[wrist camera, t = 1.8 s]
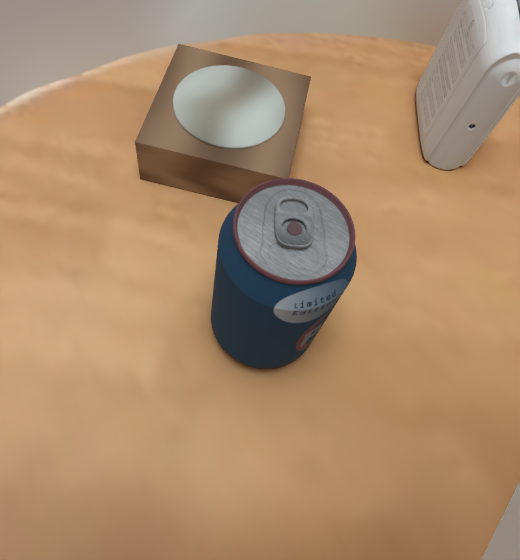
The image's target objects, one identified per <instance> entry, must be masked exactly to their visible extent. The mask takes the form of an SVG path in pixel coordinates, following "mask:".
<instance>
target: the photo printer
mask: <svg viewBox="0 0 520 560" xmlns="http://www.w3.org/2000/svg"><path fill="white" fill-rule="evenodd" d="M519 95H520V0H461V2H460V5H459V6H458V8H457V10H456V12H455V14H454V16H453V18H452V20H451V22H450V24H449V25H448V28H447V29H446V31H445V33H444V35H443V37H442V39H441V41H440V43H439V45H438V47H437V49H436V50H435V52H434V54H433V56H432V58H431V60H430V62H429V64H428V66H427V68H426V69H425V71H424V73H423V75H422V77H421V79H420V81H419V83H418V86H417V91H416V105H417V116H418V125H419V133H420V141H421V147H422V152H423V156H424V158H425V160H426V161H429V164H431V165H432V166H434V167H436V168H439V169H443V170H452V169H456V168H458V167H459V166H464V165H465V164H466V163H467V162H468V161H469V160H470V158H471V157H472V156H473V155H474V153H475V152H476V151H477V150H478V148H479V147H480V146H481V145H482V143H483V142H484V141H485V139H486V138H487V137H488V135H489V134H490V133H491V132H492V130H493V129H494V128H495V126H496V125H497V124H498V123H499V121H500V120H501V119H502V117H503V116H504V115H505V113H506V112H507V111H508V110H509V108H510V107H511V106H512V105H513V103H514V102H515V101H516V99H517V98H518V97H519Z"/></svg>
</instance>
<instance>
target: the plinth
mask: <svg viewBox="0 0 520 560" xmlns="http://www.w3.org/2000/svg"><path fill="white" fill-rule="evenodd" d="M310 79H311V77H310V76H306V75H302V74H298V73H294V72H290V71H286V70H282V69H278V68H274V67H270V66H266V65H262V64H258V63H254V62H250V61H246V60H242V59H238V58H234V57H230V56H226V55H222V54H218V53H214V52H210V51H206V50H202V49H198V48H193V47H189V46H185V45H181V44H178V47H177V49H176V51H175V53H174V56H173V58H172V60H171V62H170V65H169V67H168V69H167V71H166V74H165V76H164V78H163V80H162V83H161V85H160V87H159V89H158V92H157V94H156V96H155V98H154V101H153V103H152V105H151V107H150V110H149V112H148V114H147V116H146V119H145V121H144V123H143V125H142V128H141V130H140V132H139V134H138V137H137V139H136V141H135V145H136V152H137V159H138V166H139V173H140V179H143V180H147V181H151V182H155V183H159V184H163V185H167V186H172V187H176V188H180V189H184V190H188V191H192V192H196V193H200V194H204V195H209V196H213V197H217V198H221V199H225V200H229V201H233V202H237V203H239V202H240V201H241V199H242V198H243V197H244V196H245V195H246V194H247V193H248V192H249V191H250V190H251V189H253V188H254V187H256V186H258V185H260V184H262V183H264V182H267V181H270V180H275V179H282V178H289V174H290V169H291V165H292V160H293V156H294V151H295V147H296V142H297V138H298V133H299V129H300V124H301V120H302V115H303V111H304V106H305V102H306V97H307V93H308V88H309V84H310Z"/></svg>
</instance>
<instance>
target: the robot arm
mask: <svg viewBox="0 0 520 560" xmlns="http://www.w3.org/2000/svg"><path fill="white" fill-rule="evenodd" d="M481 560H520V481H519V483H518V485H517V487H516V489H515V491H514V494H513V496H512V498H511V500H510V502H509V504H508V506H507V508H506V510H505V512H504V514H503V516H502V518H501V520H500V522H499V524H498V526H497V529H496V531H495V533H494V535H493V537H492V539H491V541H490V543H489V545H488V547H487V549H486V551H485V553H484V555H483V557H482V559H481Z"/></svg>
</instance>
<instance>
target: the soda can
mask: <svg viewBox="0 0 520 560" xmlns="http://www.w3.org/2000/svg"><path fill="white" fill-rule="evenodd" d="M356 258H357V256H356V247H355V229H354V224H353V221H352V219H351V216H350V214H349V212H348V211H347V209H346V208H345V206H344V205H343V204H342V202H341V201H340V200H339V199H338V198H337V197H336V196H334V195H333V194H332V193H331V192H329V191H328V190H326V189H325V188H323V187H321V186H319V185H317V184H314V183H312V182H308V181H305V180H300V179H292V178H282V179H275V180H270V181H267V182H264V183H262V184H260V185H258V186H256V187H254V188H253V189H251V190H250V191H249V192H248V193H247V194H246V195H245V196H244V197H243V198H242V199H241V201H240V202H239V204H238V205H237V206H235V207H234V208H233V209H232V210H231V212H230V213H229V214H228V215H227V217H226V219H225V220H224V222H223V224H222V227H221V230H220V234H219V240H218V250H217V260H216V270H215V280H214V290H213V300H212V310H211V323H212V328H213V331H214V334H215V336H216V338H217V340H218V342H219V344H220V345H221V346H222V348H223V349H224V350H225V351H226V352H227V353H228V354H229V355H230V356H232V357H233V358H234V359H236V360H238V361H239V362H241V363H243V364H246V365H249V366H252V367H257V368H276V367H280V366H284V365H286V364H289V363H291V362H293V361H294V360H296V359H297V358H299V357H300V356H301V355H302V354H303V353H304V352H305V351H306V349H307V348H308V347H309V345H310V344H311V342H312V340H313V339H314V337H315V336H316V334H317V333H318V331H319V330H320V328H321V326H322V325H323V323H324V322H325V320H326V319H327V317H328V315H329V314H330V312H331V311H332V309H333V308H334V306H335V304H336V303H337V301H338V300H339V298H340V297H341V295H342V294H343V292H344V290H345V289H346V287H347V286H348V284H349V282H350V281H351V279H352V277H353V274H354V271H355V267H356Z"/></svg>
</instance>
